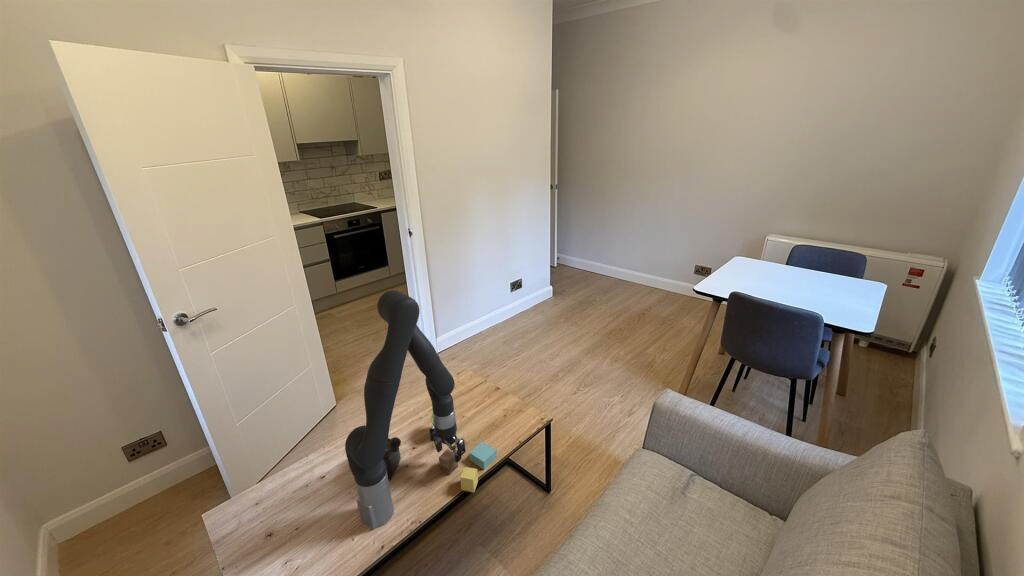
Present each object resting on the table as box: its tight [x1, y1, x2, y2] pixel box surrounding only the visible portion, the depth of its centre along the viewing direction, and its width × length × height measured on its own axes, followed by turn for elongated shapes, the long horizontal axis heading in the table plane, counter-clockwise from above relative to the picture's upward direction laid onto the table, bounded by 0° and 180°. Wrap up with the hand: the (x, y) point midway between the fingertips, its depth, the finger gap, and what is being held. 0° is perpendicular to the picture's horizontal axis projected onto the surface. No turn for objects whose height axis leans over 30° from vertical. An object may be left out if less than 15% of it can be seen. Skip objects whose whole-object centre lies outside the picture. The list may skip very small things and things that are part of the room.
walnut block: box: [438, 448, 459, 476], centre depth 146 cm, size 4×4×6 cm
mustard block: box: [460, 466, 479, 493], centre depth 139 cm, size 4×4×6 cm
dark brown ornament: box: [383, 436, 402, 481], centre depth 144 cm, size 16×11×18 cm
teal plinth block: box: [469, 440, 498, 470], centre depth 151 cm, size 7×7×4 cm
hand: (448, 455), depth 146 cm, fingers open, 8 cm apart
